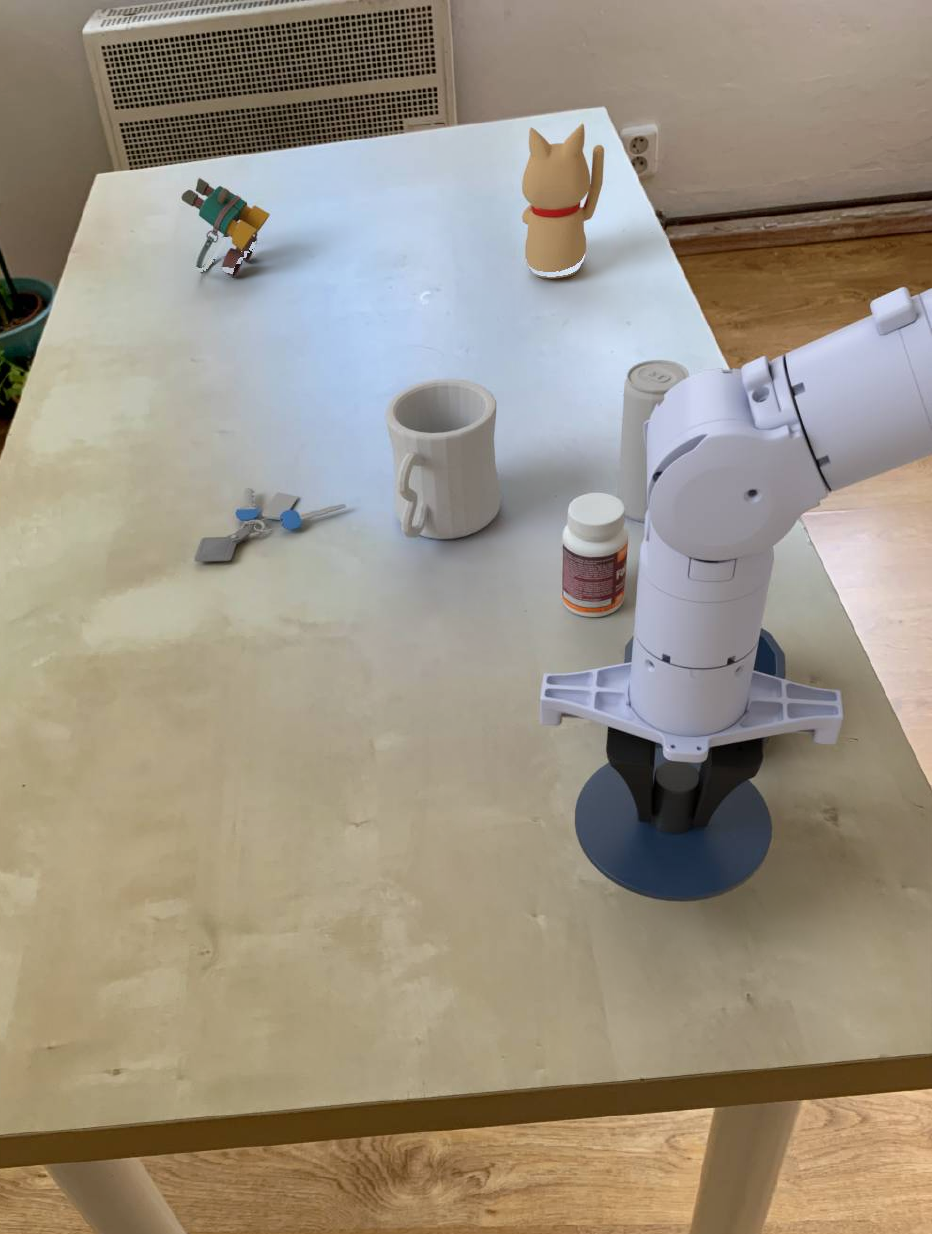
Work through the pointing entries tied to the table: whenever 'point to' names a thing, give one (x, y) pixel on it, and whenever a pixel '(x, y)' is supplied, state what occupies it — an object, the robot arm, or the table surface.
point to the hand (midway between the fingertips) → (672, 810)
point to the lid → (672, 834)
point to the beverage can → (641, 428)
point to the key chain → (276, 510)
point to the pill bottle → (594, 555)
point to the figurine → (559, 200)
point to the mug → (444, 458)
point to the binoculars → (226, 221)
